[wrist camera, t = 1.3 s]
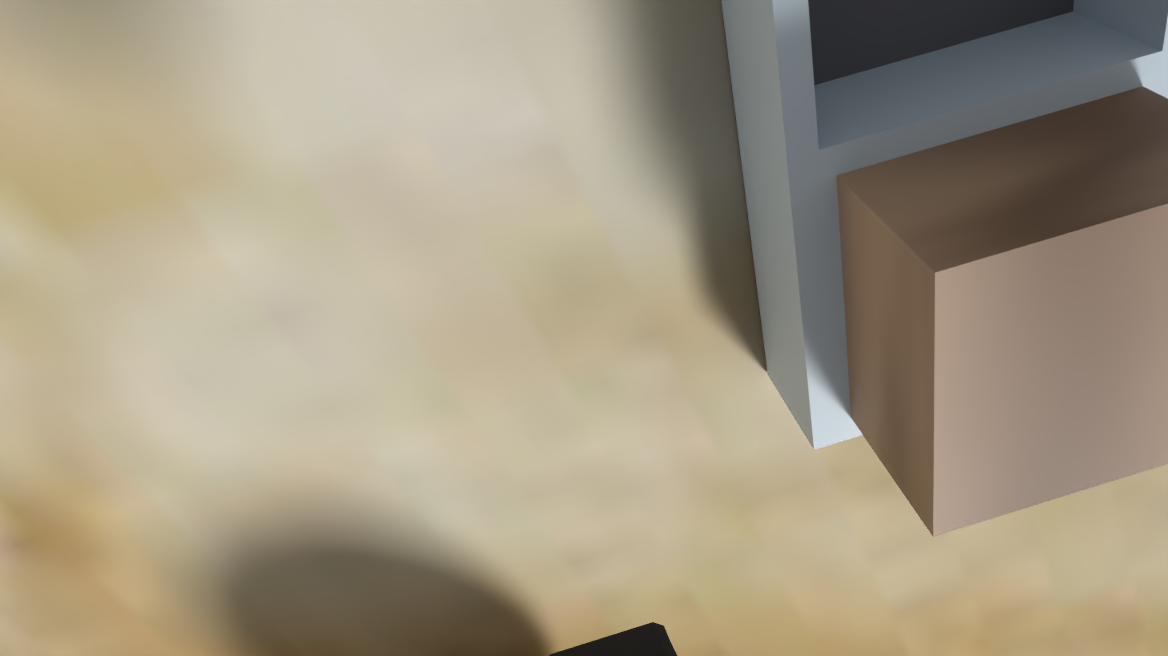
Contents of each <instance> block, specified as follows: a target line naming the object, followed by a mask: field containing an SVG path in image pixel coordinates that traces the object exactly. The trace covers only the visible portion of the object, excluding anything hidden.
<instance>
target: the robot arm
mask: <svg viewBox="0 0 1168 656" xmlns="http://www.w3.org/2000/svg"><path fill="white" fill-rule="evenodd" d="M549 656H677V654H676V652H675V650H674V648H673V646H672V644H671V642H670V640H669V637H668V635H667V633H666V630H665V628H664V626H663V625H660V624H657V623H654V622H652V623H649V624H646V625H643V626H639V627H636V628H633V629H630V630H627V631H623V632H620V633H617V634H614V635H611V636H608V637H604V638H601V639H598V640H595V641H592V642H588V643H585V644H582V645H579V646H576V647H572V648H569V649H566V650H563V651H560V652H556V653H553V654H550V655H549Z"/></svg>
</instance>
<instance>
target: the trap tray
mask: <svg viewBox="0 0 1168 656" xmlns="http://www.w3.org/2000/svg"><path fill="white" fill-rule="evenodd" d="M721 2H722V10H723V18H724V26H725V34H726V42H727V50H728V58H729V66H730V74H731V82H732V90H733V98H734V106H735V114H736V123H737V131H738V139H739V147H740V155H741V163H742V171H743V179H744V187H745V195H746V203H747V211H748V219H749V227H750V235H751V243H752V252H753V260H754V268H755V276H756V284H757V292H758V300H759V308H760V316H761V324H762V332H763V340H764V348H765V356H766V364H767V372H768V376H769V377H770V379H771V380H772V382H773V384H774V385H775V387H776V389H777V390H778V392H779V393H780V395H781V397H782V398H783V400H784V402H785V403H786V405H787V406H788V408H789V410H790V411H791V413H792V415H793V416H794V418H795V420H796V421H797V423H798V424H799V426H800V428H801V429H802V431H803V433H804V434H805V436H806V437H807V439H808V441H809V442H810V444H811V446H812V447H813V449H814V450H815V449H818V448H821V447H825V446H828V445H831V444H835V443H838V442H841V441H844V440H848V439H851V438H854V437H858V436H861V435H863V434H862V433H861V432H860V430H859V429H858V427H857V426H856V424H855V423H854V421H853V420H852V418H851V406H850V390H849V373H848V357H847V340H846V324H845V307H844V290H843V274H842V257H841V241H840V224H839V208H838V191H837V175H839V174H842V173H846V172H849V171H853V170H856V169H859V168H863V167H866V166H870V165H873V164H877V163H880V162H884V161H887V160H890V159H894V158H897V157H901V156H904V155H908V154H911V153H915V152H918V151H921V150H925V149H928V148H932V147H935V146H939V145H942V144H946V143H949V142H952V141H956V140H959V139H963V138H966V137H970V136H973V135H977V134H980V133H983V132H987V131H990V130H994V129H997V128H1001V127H1004V126H1008V125H1011V124H1014V123H1018V122H1021V121H1025V120H1028V119H1032V118H1035V117H1039V116H1042V115H1045V114H1049V113H1052V112H1056V111H1059V110H1063V109H1066V108H1070V107H1073V106H1076V105H1080V104H1083V103H1087V102H1090V101H1094V100H1097V99H1101V98H1104V97H1107V96H1111V95H1114V94H1118V93H1121V92H1125V91H1128V90H1132V89H1135V88H1138V87H1142V86H1143V87H1145V88H1147V89H1149V90H1151V91H1153V92H1155V93H1157V94H1160V95H1162V96H1164V97H1166V98H1168V0H721Z"/></svg>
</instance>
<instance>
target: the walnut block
mask: <svg viewBox="0 0 1168 656" xmlns="http://www.w3.org/2000/svg"><path fill="white" fill-rule="evenodd" d="M837 191H838V208H839V224H840V241H841V257H842V274H843V290H844V307H845V324H846V340H847V357H848V373H849V390H850V406H851V418H852V420H853V421H854V423H855V424H856V426H857V427H858V429H859V430H860V432H861V433H862V434H863V436H864V437H865V439H866V440H867V442H868V443H869V445H870V446H871V447H872V449H873V450H874V452H875V453H876V455H877V456H878V458H879V459H880V460H881V462H882V463H883V465H884V466H885V468H886V469H887V471H888V472H889V473H890V475H891V476H892V478H893V479H894V481H895V482H896V484H897V485H898V486H899V488H900V489H901V491H902V492H903V494H904V495H905V497H906V498H907V499H908V501H909V502H910V504H911V505H912V507H913V508H914V510H915V511H916V512H917V514H918V515H919V517H920V518H921V520H922V521H923V523H924V524H925V525H926V527H927V528H928V530H929V531H930V533H931V534H932V536H933V537H934V536H937V535H940V534H943V533H947V532H950V531H953V530H956V529H959V528H963V527H966V526H969V525H972V524H976V523H979V522H982V521H985V520H988V519H992V518H995V517H998V516H1001V515H1005V514H1008V513H1011V512H1014V511H1017V510H1021V509H1024V508H1027V507H1030V506H1033V505H1037V504H1040V503H1043V502H1046V501H1050V500H1053V499H1056V498H1059V497H1062V496H1066V495H1069V494H1072V493H1075V492H1079V491H1082V490H1085V489H1088V488H1091V487H1095V486H1098V485H1101V484H1104V483H1107V482H1111V481H1114V480H1117V479H1120V478H1124V477H1127V476H1130V475H1133V474H1136V473H1140V472H1143V471H1146V470H1149V469H1153V468H1156V467H1159V466H1162V465H1165V464H1168V98H1166V97H1164V96H1162V95H1160V94H1157V93H1155V92H1153V91H1151V90H1149V89H1147V88H1145V87H1143V86H1142V87H1138V88H1135V89H1132V90H1128V91H1125V92H1121V93H1118V94H1114V95H1111V96H1107V97H1104V98H1101V99H1097V100H1094V101H1090V102H1087V103H1083V104H1080V105H1076V106H1073V107H1070V108H1066V109H1063V110H1059V111H1056V112H1052V113H1049V114H1045V115H1042V116H1039V117H1035V118H1032V119H1028V120H1025V121H1021V122H1018V123H1014V124H1011V125H1008V126H1004V127H1001V128H997V129H994V130H990V131H987V132H983V133H980V134H977V135H973V136H970V137H966V138H963V139H959V140H956V141H952V142H949V143H946V144H942V145H939V146H935V147H932V148H928V149H925V150H921V151H918V152H915V153H911V154H908V155H904V156H901V157H897V158H894V159H890V160H887V161H884V162H880V163H877V164H873V165H870V166H866V167H863V168H859V169H856V170H853V171H849V172H846V173H842V174H839V175H837Z"/></svg>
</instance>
